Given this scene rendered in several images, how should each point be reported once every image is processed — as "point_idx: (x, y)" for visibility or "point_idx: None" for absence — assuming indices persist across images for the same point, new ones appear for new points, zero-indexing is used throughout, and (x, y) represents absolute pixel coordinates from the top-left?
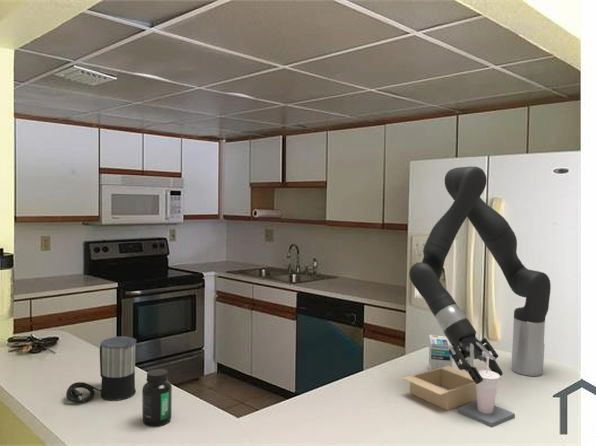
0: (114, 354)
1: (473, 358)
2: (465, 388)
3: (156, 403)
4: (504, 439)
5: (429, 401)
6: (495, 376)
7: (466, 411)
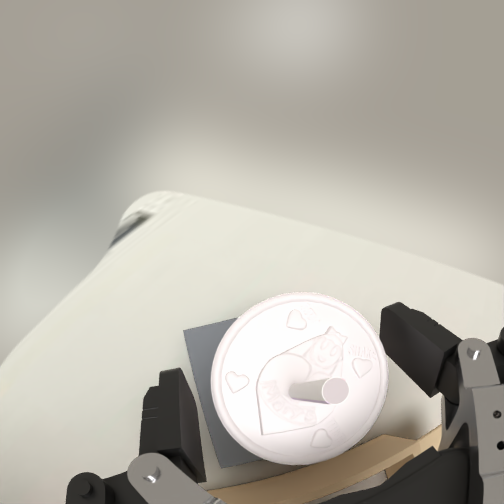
0: None
1: (476, 387)
2: (304, 490)
3: None
4: (324, 232)
5: None
6: (272, 327)
7: None
